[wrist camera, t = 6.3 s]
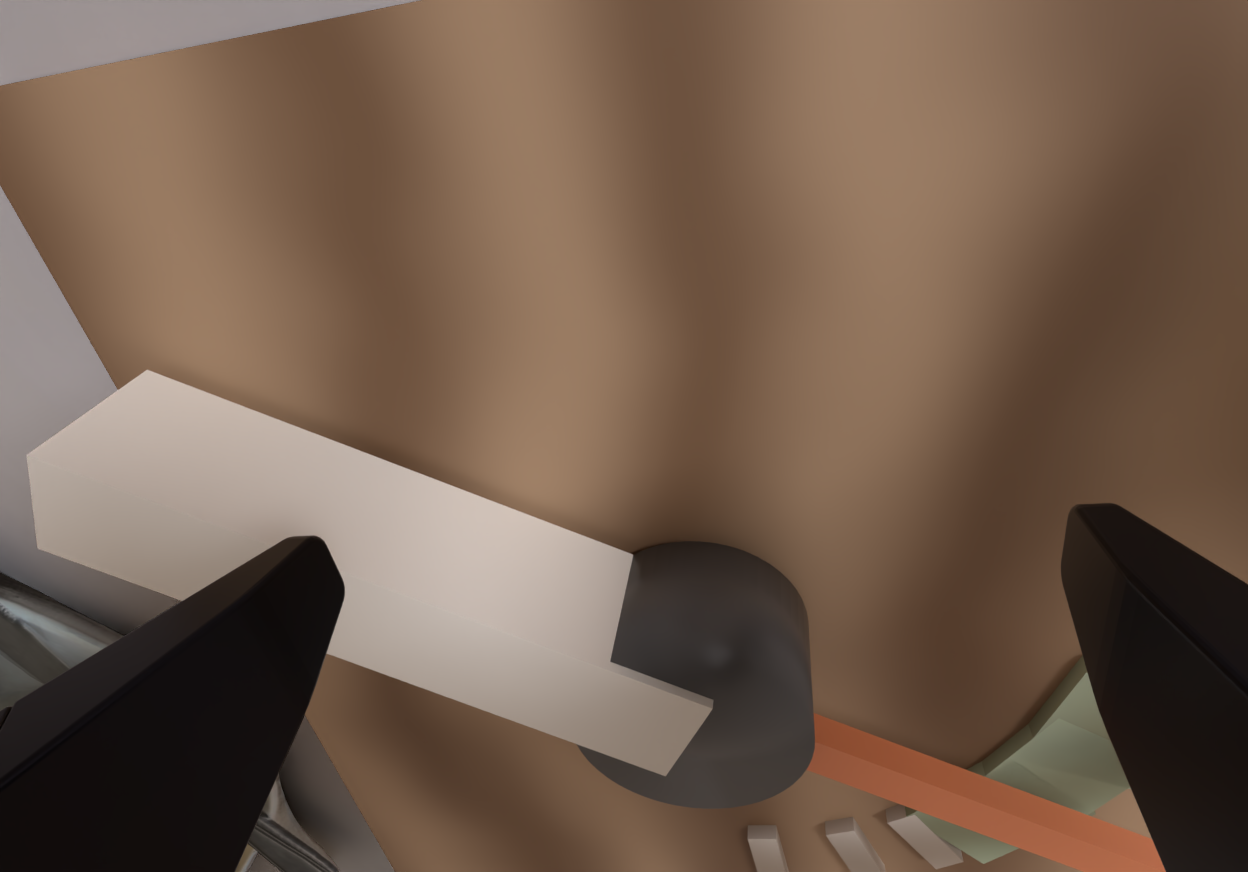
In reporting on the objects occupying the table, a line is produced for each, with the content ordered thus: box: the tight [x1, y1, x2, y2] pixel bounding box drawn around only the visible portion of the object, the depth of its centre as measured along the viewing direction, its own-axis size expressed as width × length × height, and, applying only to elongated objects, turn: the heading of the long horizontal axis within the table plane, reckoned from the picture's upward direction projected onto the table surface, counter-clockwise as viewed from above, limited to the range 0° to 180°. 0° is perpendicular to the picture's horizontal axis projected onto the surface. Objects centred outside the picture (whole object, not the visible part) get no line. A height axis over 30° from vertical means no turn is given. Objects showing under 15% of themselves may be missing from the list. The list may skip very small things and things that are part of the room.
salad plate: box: [0, 573, 339, 872], centre depth 26 cm, size 19×18×5 cm
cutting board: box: [0, 0, 1248, 872], centre depth 18 cm, size 24×25×2 cm
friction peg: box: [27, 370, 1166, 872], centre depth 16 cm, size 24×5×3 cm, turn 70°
